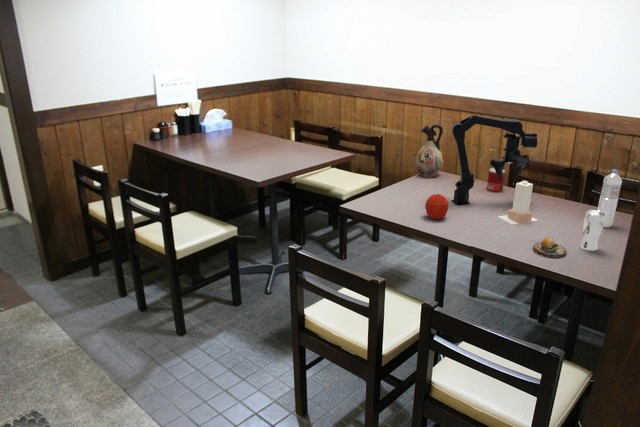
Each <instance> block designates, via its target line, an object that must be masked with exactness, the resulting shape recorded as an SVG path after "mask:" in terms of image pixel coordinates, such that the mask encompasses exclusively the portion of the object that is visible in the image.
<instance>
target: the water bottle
mask: <svg viewBox="0 0 640 427" xmlns="http://www.w3.org/2000/svg"><path fill="white" fill-rule="evenodd" d="M622 183H623V180H622V178H621V177H620V175H619V174H618V169H612V172H611V173H609V174H608V175H606V176H605V177H604V178H603V183H602V188H601V192H600V196H599V201H598V204H597V205H598V206H597V210H598V211H602V212H604V213H605V214H606V215H605V222H604V226H603V228H607V229H608V228H611V227H612V226H613V224H614V219H615V214H616V209H617V206H618V201H619V195H620V191H621V187H622Z"/></svg>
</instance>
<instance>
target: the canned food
mask: <svg viewBox="0 0 640 427" xmlns="http://www.w3.org/2000/svg"><path fill="white" fill-rule="evenodd" d="M505 176H506V170H505V169H503V171H502V178H501V180H499V179H498V176H497V173H496V171H495V169H494V167H491V168H489V170H488V175H487V185H486V190H487V191H488V192H491V193H501V192H502V191H503V190H504V183H505V182H504V181H505Z"/></svg>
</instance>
